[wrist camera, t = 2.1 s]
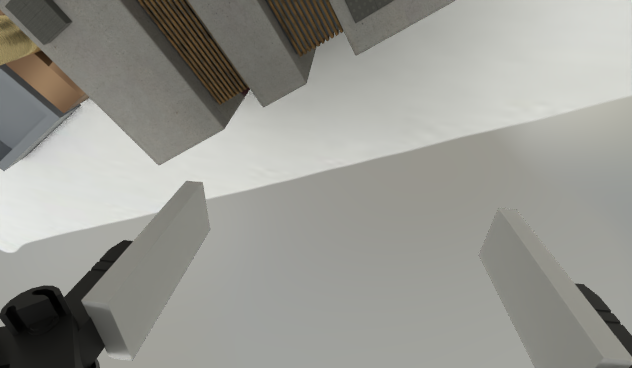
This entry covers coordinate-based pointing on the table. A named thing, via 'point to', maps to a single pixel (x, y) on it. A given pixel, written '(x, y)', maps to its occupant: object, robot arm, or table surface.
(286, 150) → the table surface
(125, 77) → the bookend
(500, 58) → the table surface
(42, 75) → the block
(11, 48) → the lock pin
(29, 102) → the tray
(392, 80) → the table surface
